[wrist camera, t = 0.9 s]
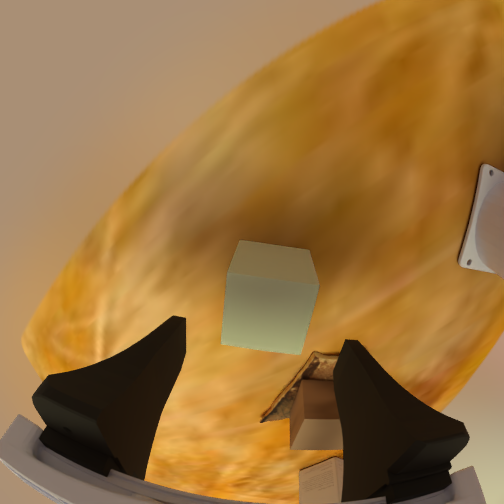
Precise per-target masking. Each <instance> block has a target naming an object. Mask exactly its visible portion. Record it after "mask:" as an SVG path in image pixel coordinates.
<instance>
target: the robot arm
mask: <svg viewBox="0 0 504 504" xmlns="http://www.w3.org/2000/svg"><path fill="white" fill-rule="evenodd" d="M490 171H491V173H490V174H489V172H490ZM468 260H469V262H468V263H467V261H468ZM458 264H459V265H460V266H461V267H464V268H469V269H474V270H480V271H485V272H490V273H495V274H497V275H499V276H500V277H501V278H503V279H504V172H502V171H500V170H498V169H496V168H494V167H492V166H490V165H488V164H482V166H481V168H480V174H479V180H478V186H477V191H476V196H475V201H474V205H473V209H472V214H471V218H470V222H469V225H468V229H467V233H466V236H465V240H464V243H463V246H462V250H461V253H460V256H459V259H458ZM185 354H186V318H184V317H178V316H172V317H170V318H169V319H168V320H166V321H165V322H164V323H163V324H161V325H160V326H159V327H157V328H156V329H155V330H154V331H152V332H151V333H150V334H148V335H147V336H145V337H144V338H143V339H141V340H140V341H138V342H137V343H135V344H134V345H132V346H131V347H129V348H127V349H126V350H124V351H122V352H120V353H118V354H116V355H114V356H112V357H110V358H108V359H106V360H103V361H101V362H98V363H96V364H93V365H90V366H87V367H84V368H81V369H77V370H73V371H69V372H63V373H58V374H51V375H48V376H47V377H46V379H45V380H44V381H43V382H42V384H41V385H40V386H39V388H38V389H37V390H36V392H35V393H34V394H33V396H32V400H33V404H34V406H35V408H36V410H37V411H38V413H39V415H40V416H41V418H42V419H43V421H44V422H45V424H46V425H47V426H46V428H45V429H44V431H43V430H42V429H41V428H40V427H39V426H37V425H36V424H34V423H33V422H31V421H30V420H28V419H27V418H25V417H23V416H22V415H20V414H19V415H18V416H17V417H16V418H15V420H14V421H13V423H12V424H11V425H10V427H9V429H8V430H7V431H6V433H5V434H4V436H3V437H2V438H1V440H0V461H1V462H2V463H3V464H4V465H5V466H6V467H8V468H9V469H10V470H11V471H12V472H13V473H14V474H15V475H16V476H18V477H19V478H20V479H21V480H22V481H24V482H25V483H26V484H28V485H29V486H31V487H32V488H34V489H35V490H37V491H38V492H40V493H41V494H43V495H44V496H46V497H47V498H49V499H51V500H52V501H54V502H55V503H57V504H266V503H252V502H242V501H234V500H226V499H220V498H213V497H208V496H202V495H197V494H192V493H188V492H183V491H179V490H175V489H171V488H167V487H164V486H160V485H157V484H153V483H150V482H147V481H144V479H145V474H146V469H147V464H148V460H149V456H150V452H151V448H152V444H153V440H154V437H155V433H156V430H157V426H158V423H159V420H160V417H161V413H162V411H163V408H164V406H165V404H166V401H167V399H168V397H169V395H170V393H171V391H172V388H173V386H174V384H175V382H176V380H177V377H178V375H179V373H180V371H181V368H182V364H183V361H184V358H185ZM333 384H334V393H335V398H336V403H337V408H338V413H339V418H340V423H341V428H342V436H343V487H342V497H341V502H340V503H327V504H486V502H485V498H484V495H483V492H482V489H481V486H480V483H479V481H478V478H477V475H476V472H475V470H474V467H473V466H470V467H467V468H465V469H462V470H459V471H457V472H454V473H453V474H451V475H450V474H449V471H448V470H450V469H451V467H452V466H451V463H450V461H451V460H452V459H453V458H454V457H455V456H456V455H457V454H458V453H459V452H460V451H461V450H462V449H463V448H464V447H465V446H466V445H467V443H468V441H469V438H470V437H469V434H468V432H467V430H466V428H465V426H464V423H463V422H460V421H458V420H455V419H453V418H451V417H448V416H446V415H444V414H442V413H440V412H438V411H436V410H434V409H433V408H431V407H429V406H428V405H426V404H424V403H423V402H421V401H420V400H418V399H417V398H416V397H414V396H413V395H412V394H410V393H409V392H408V391H407V390H405V389H404V388H403V387H402V386H401V385H399V384H398V383H397V382H396V381H395V380H394V379H393V378H392V377H391V376H390V375H389V374H388V373H387V372H386V371H385V370H384V369H383V368H382V367H381V366H380V364H379V363H378V362H377V361H376V360H375V359H374V358H373V357H372V356H371V354H370V353H369V352H368V351H367V350H366V349H365V348H364V346H363V345H362V344H361V343H360V342H359V341H358V340H347V339H345V342H344V344H343V347H342V350H341V352H340V355H339V357H338V360H337V362H336V365H335V367H334V369H333Z"/></svg>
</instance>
